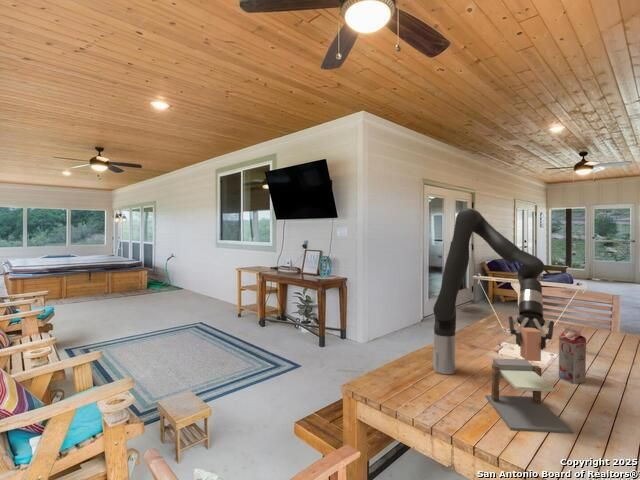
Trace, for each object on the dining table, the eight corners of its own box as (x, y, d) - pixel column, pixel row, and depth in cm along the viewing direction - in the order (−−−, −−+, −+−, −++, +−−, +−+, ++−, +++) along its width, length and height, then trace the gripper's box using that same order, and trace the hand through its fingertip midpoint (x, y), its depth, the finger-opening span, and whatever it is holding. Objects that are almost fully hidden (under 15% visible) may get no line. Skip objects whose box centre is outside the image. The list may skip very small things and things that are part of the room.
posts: (493, 403, 128) (494, 366, 128) (491, 400, 131) (491, 364, 130) (541, 405, 127) (541, 368, 126) (537, 402, 129) (538, 365, 129)
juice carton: (573, 383, 144) (574, 332, 143) (558, 377, 150) (559, 327, 150) (585, 381, 146) (586, 330, 145) (570, 375, 152) (571, 326, 151)
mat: (510, 429, 112) (510, 427, 112) (485, 396, 134) (485, 394, 134) (573, 433, 110) (573, 430, 110) (537, 399, 132) (537, 396, 132)
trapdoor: (492, 371, 135) (493, 358, 135) (525, 372, 134) (525, 359, 134) (516, 395, 115) (516, 381, 115) (554, 397, 114) (554, 382, 114)
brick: (526, 360, 116) (526, 331, 115) (520, 355, 120) (520, 327, 120) (540, 361, 115) (541, 331, 115) (533, 356, 120) (534, 327, 119)
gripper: (508, 297, 127) (506, 338, 118) (555, 301, 120) (557, 345, 110) (508, 308, 132) (506, 348, 122) (553, 313, 125) (555, 356, 115)
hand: (530, 346), depth 116 cm, fingers closed on brick, 6 cm apart
